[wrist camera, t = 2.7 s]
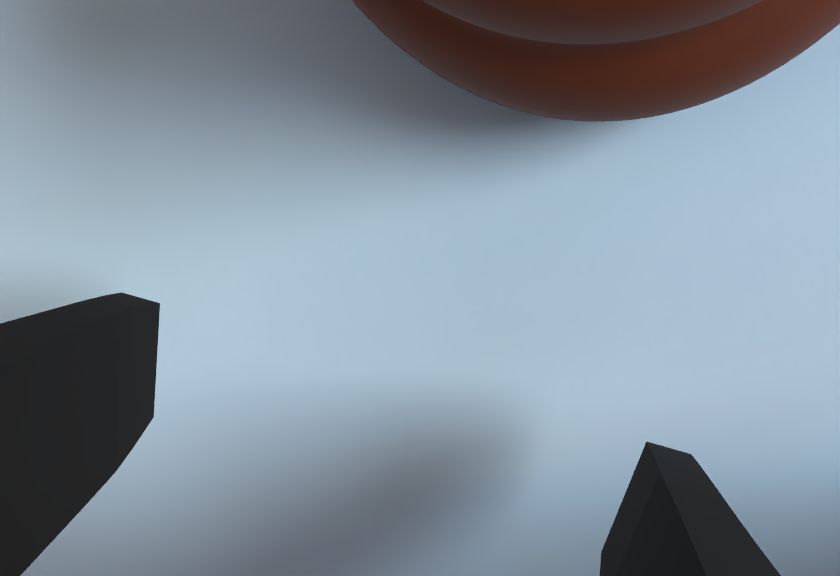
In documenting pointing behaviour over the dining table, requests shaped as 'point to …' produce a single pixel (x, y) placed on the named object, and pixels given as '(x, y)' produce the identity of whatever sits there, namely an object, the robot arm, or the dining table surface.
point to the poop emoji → (602, 49)
